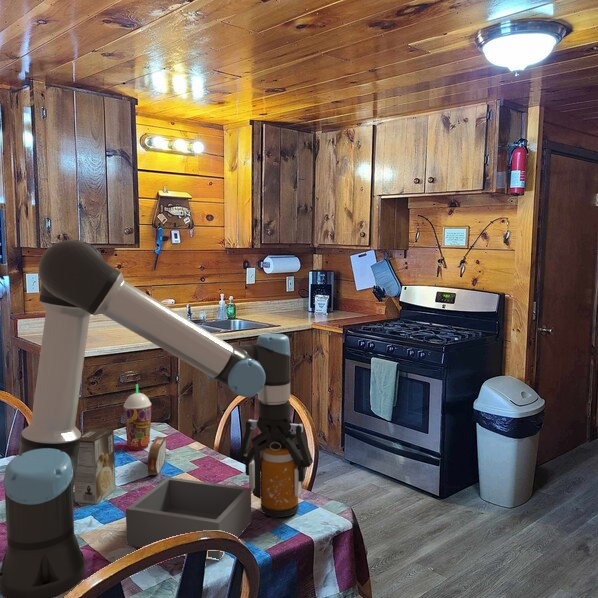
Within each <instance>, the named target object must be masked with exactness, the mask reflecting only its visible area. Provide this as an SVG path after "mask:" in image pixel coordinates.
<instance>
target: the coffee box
mask: <svg viewBox="0 0 598 598" xmlns="http://www.w3.org/2000/svg"><path fill="white" fill-rule="evenodd" d="M114 431H115V430H114V429H105V428H90V429H88V430H87V431H86V432H85V431H84V433H81V439H80V448H79V455H78V456H79V463H78V468H77V471H76V476H75V482H74V489H73V492H74V503H81V504H92V505H98V504H99V503H101V502H102V501H103V500H104V499H106V498H107V497H108V496H109V495H110V494H111V493H113V492H114V491H115V490H116V488H117V487H116V463H115V462H116V461H115V457H116V456H115V438H114V437H115V436H114Z"/></svg>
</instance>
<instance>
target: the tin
mask: <svg viewBox="0 0 598 598" xmlns="http://www.w3.org/2000/svg"><path fill="white" fill-rule="evenodd" d="M167 443H168V442H167V438H166V436H156V437H155V439H154V440H153V442H152V443H151V445H150V448H149V451H148V456H147V465H146V467H147V472H146V473H147V475H148V476H158V475H159V474H160V472H161V470H162V469H163V466H164V464H165V461H166V455H167Z"/></svg>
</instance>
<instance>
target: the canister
mask: <svg viewBox="0 0 598 598" xmlns="http://www.w3.org/2000/svg"><path fill="white" fill-rule="evenodd" d="M260 434H261V432H260V433H259V434H257V435H256V436H255V437H253V438H251V440H250V442H251V444H252V447H254V450H255V454H254V458H253V460H254V463H255V488H254V489H253V490H252V495H253V496H254V497H255V498H257V499H259V500H260V511H261V512H262V513H263V514H265V515H267V516H270V517H274V516H275V518H284V516H285V517H288V516H291V515H294V514H296V513H297V512H298V510H299V496H298V497H297V496H295V468H296V467H297V465H296V464H295V462H294V460H293V458H292V457H291V455H290V453H289V451H288V450H287V448H286V446H285V445H284V444H283V443H282V442H281V440H280V441H276V440H274V439H272V438H271V433H270V432H269V431H268V433H267V434H266V436H265V434H264V435H262V436H261V437H260V438H258V437H259V436H260ZM289 436H290V437H291V438H292V439H295V438H296V434H295V433H294V431H293V430H290V431H289V432H288V433H287V435H286V436H285V437H286V438H287V437H289ZM264 439H265V440H264ZM263 440H264V441H263ZM261 441H263V442H262V444H261V445H260V446H258V445H257V444H259V443H260V442H261ZM261 452H262V457H261Z"/></svg>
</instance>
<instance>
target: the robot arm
mask: <svg viewBox="0 0 598 598" xmlns="http://www.w3.org/2000/svg"><path fill="white" fill-rule="evenodd" d="M40 257H41V258H40V259H39V263H38V276H39V279H40V283H41V284H40V292H39V297H38V298H39V301H38V303H39V304H40V305H41V306H42V307H43V309H44V310H45V317H44V324H43V330H42V331H43V332H42V339H41V344H40V345H41V346H40V353H39V360H38V361H39V362H38V366H37V367H38V370H37V374H36V375H37V378H36V383H35V384H36V385H35V389H34V390H35V391H34V398H33V406H32V414H31V420H30V421H31V422H30V424H29V425H28V426H26V427H25V428H24V429H23V430H22V431H21V437H20V443H19V451H18V455H17V456H15V457H14V458H12V459H11V460H10V461H9V462H8V463H7V465H6V466H5V469H4V477H3V481H2V485H3V486H2V487H3V490H4V501H5V502H4V504H5V520H6V521H5V523H6V544H7V545H6V549H5V552H4V556H3V558H2V563H1V567H0V594H1V595H2V596H3V597H4V598H53V597H55V596H58V595H60V594H62V593H64V592H67V591H68V590H70V589H71V588H73V587H74V586H76V585H77V584H78V583H79V582H81V580H82V579H83V577H84V576H85V573H86V559H85V555H84V553H83V551H82V550H81V549H80V544H79V542H78V539H77V536H76V533H75V522H74V521H75V518H74V517H75V516H74V482H75V476H76V471H77V468H78V463H79V456H78V455H79V448H80V439H81V435H82V433H81V431H80V430H79V429H78V428H77V426H76V420H77V412H78V404H79V398H80V390H81V382H82V376H83V369H84V362H85V353H86V346H87V339H88V331H89V324H90V316H91V315H92V316H99V315H103V316H104V317H106V318H108V319H110V320H111V321H114V322H115V323H117V324H119V325H121V326H122V327H124V328H126V329H128V330H129V331H130V332H132V333H134V334H136V335H138V336H140V337H141V338H143V339H145V340H147V341H148V342H150V343H152V344H154V345H155V346H157V347H159V348H160V349H162V350H164V351H165V352H167V353H169V354H171V355H173V356H174V357H176V358H178V359H179V360H181V361H183V362H184V363H186V364H188V365H189V366H191V367H193V368H195V369H197V370H198V371H201V372H202V373H204V374H206V375H205V376H206V377H207V379H208V380H210V381H217V382H219V383H221V384H222V385H224V386H226V387H228V388H229V389H230V391H232V393H234V394H236V395H238V397H239V396H240V397H243V398H251V397H254V396H255V395H257V399H258V400H259V401H258V403H257V408H258V409H257V411H258V413H257V414H258V415H257V417H258V419H257V420H255V419H253V418H249V419H248V420H247V421H246V422H245V432H244V434H243V437H242V440H241V441H242V442H241V445H240V448H239V450H238V454H237V459H238V460H242V461H243V462H244V464H245V465H244V468H245V475H246V476H248V488H251V492H253V490H254V488H255V463H254V454H255V450H254V447H253V446H252V447H251V449H250V450H249V452H248V449H249V446H250V443H251V439H252V437H253V434H254V430H255V429H256V428H257V427H258V429H259V431H260V433H261V434H260V433H259V434H260V436H259V437H258V438H260V437H261V436H262V435H264V434H265V436H266V434H267V433H268V431H269V432H270V433H271V438H272V439H274V440H276V441H280V440H281V442H282V443H283V444H284V445H285V446H286V448H287V450H288V451H289V453H290V455H291V457H292V458H293V460H294V462H295V464H296V465H297V467H296V468H295V496H297V497H298V498H299V496H300V495H301V493H302V483H303V482H304V480H305V479H306V468H309V467H310V466H311V465H312V464H313V463H314V461H313V457H312V454H311V451H310V448H309V444H308V441H307V438H306V435H305V425H304V423H303V422H299V423H293V422H292V420H291V401H290V399H291V357H292V356H291V347H290V345H291V344H290V338H289V337H288V336H287V335H285V334H284V333H265V334H260V335H258V337H257V341H256V343H253V344H246V345H245V344H241V345H231V344H229V343H227V342H226V341H224V339H223V340H222V338H219V337H217V336H216V335H215V334H213V333H211V332H209V331H208V330H206V329H205V328H203V327H202V326H200V325H198V324H196V323H195V322H193V321H191V320H190V319H188V318H186V317H185V316H184V315H181V314H180V313H178V312H177V311H175V310H174V309H172V308H170V307H168V306H167V305H166V304H163V303H162V302H160V301H159V300H157V299H155V298H154V297H153V296H151V295H149V294H147V293H145V292H144V291H142V290H141V289H138V288H137V287H136V286H134V285H132V284H130V283H129V282H127V281H125V278H124V276H123V273H122V272H121V271H119V270H118V269H116V268H115V267H113V266H112V265H110V264H109V263H108V262H106V261H105V260H104V258H103V255H101V252H99V250H98V249H97V248H96V247H95V246H94V245H92V243H91V244H90V243H89V242H87V241H82V240H79V239H67V240H61V241H58V242H56V243H53V244H52V245H50V246H49V247H47V249H46V250H45V251H44V252H43V254H42V256H40ZM291 430H292V431H293V433H295V434H296V437H295V438H296V441H297V444H298V447H297V446H296V444H295V443H294V441H293V438H291V437H290V436H289V437H287V438H286V437H285V436H286V435H287V433H288V432H289V431H291ZM264 440H265V439H264ZM264 440H263V441H264ZM263 441H261V442H260V443H259V444H257V445H258V446H260V445H261V444H262V442H263ZM298 448H299V449H298Z"/></svg>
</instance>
